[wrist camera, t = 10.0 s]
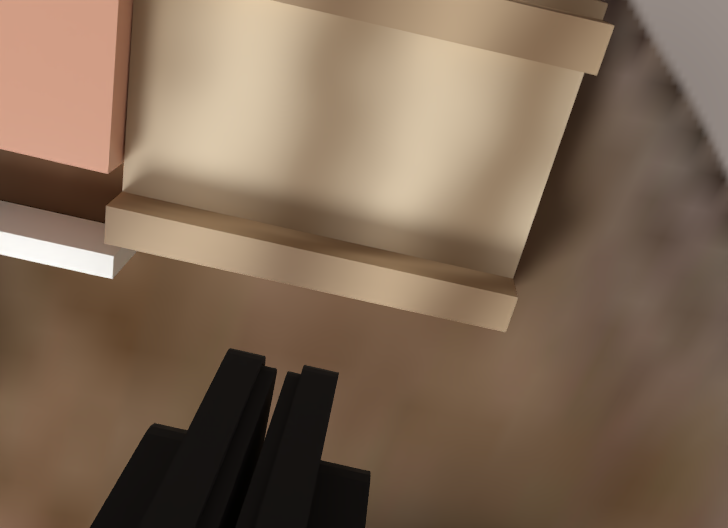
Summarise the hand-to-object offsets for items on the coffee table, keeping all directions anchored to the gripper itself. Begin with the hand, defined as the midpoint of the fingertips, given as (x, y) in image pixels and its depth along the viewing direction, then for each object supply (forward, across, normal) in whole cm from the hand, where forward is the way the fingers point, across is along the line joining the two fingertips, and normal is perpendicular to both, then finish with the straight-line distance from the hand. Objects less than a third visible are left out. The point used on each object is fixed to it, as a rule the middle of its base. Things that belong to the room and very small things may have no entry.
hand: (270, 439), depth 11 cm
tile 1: (+18, +12, -1) cm, 21 cm away
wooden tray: (+18, +1, -1) cm, 18 cm away
